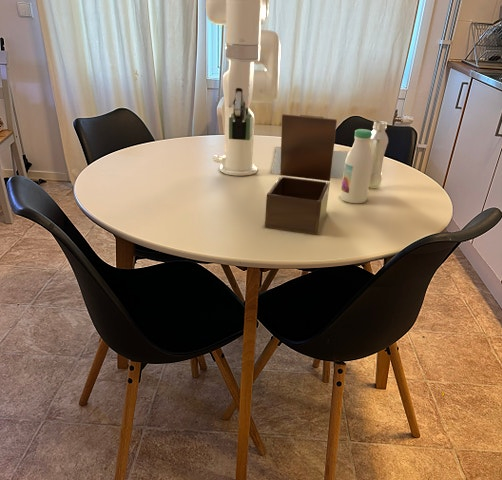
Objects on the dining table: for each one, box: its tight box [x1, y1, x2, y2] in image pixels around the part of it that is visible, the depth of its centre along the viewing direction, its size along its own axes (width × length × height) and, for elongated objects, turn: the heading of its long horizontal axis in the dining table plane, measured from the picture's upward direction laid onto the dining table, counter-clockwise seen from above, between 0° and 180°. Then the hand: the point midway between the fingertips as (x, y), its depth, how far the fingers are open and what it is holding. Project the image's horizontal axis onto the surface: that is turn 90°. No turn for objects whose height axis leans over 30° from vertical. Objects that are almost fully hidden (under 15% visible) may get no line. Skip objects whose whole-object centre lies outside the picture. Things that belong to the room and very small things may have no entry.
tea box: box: [264, 175, 331, 236], centre depth 125 cm, size 16×14×9 cm
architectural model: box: [270, 146, 349, 179], centre depth 172 cm, size 35×28×14 cm
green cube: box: [229, 113, 252, 140], centre depth 115 cm, size 5×5×5 cm
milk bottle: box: [340, 128, 373, 204], centre depth 137 cm, size 8×8×20 cm
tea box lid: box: [279, 113, 338, 182], centre depth 125 cm, size 16×14×6 cm
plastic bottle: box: [369, 120, 389, 189], centre depth 148 cm, size 6×7×20 cm
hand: (240, 135), depth 116 cm, fingers closed on green cube, 5 cm apart
